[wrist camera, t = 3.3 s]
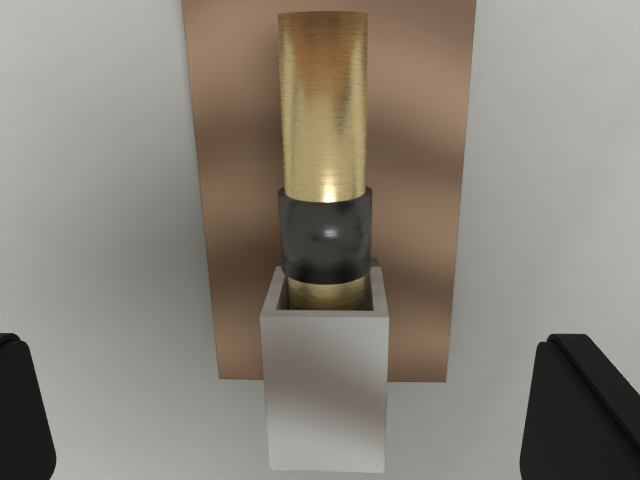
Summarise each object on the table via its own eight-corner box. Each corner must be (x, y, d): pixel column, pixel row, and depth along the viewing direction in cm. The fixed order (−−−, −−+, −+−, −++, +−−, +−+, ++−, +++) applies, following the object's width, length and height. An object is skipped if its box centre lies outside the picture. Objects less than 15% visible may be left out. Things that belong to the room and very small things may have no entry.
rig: (440, 366, 28) (476, 485, 20) (225, 363, 29) (180, 477, 21) (480, -160, 20) (565, -295, 12) (177, -148, 21) (75, -270, 13)
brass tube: (366, 398, 24) (369, 452, 21) (292, 397, 24) (284, 451, 21) (373, 17, 18) (379, 9, 15) (276, 18, 19) (261, 11, 15)
